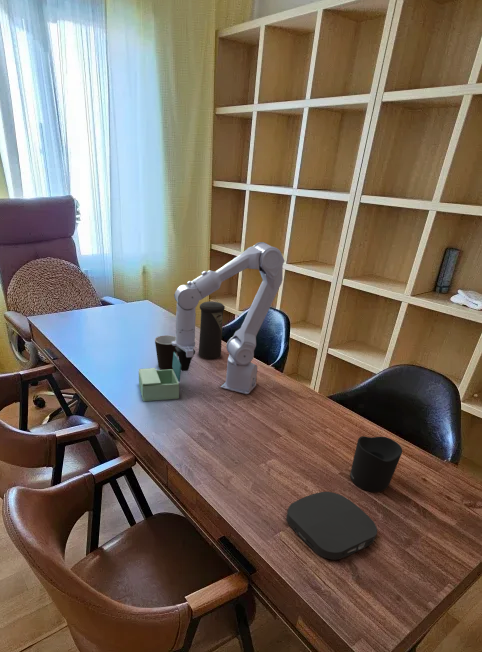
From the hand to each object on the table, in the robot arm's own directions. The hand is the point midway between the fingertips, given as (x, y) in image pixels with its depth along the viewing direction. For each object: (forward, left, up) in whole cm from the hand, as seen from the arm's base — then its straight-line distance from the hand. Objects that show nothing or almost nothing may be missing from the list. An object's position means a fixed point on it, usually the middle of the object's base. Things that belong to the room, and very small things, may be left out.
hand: (184, 370), depth 132 cm
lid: (+2, +2, +1) cm, 3 cm away
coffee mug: (+13, -15, -7) cm, 21 cm away
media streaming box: (-55, +39, -7) cm, 67 cm away
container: (+5, -30, -7) cm, 32 cm away
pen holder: (-60, +19, -7) cm, 63 cm away
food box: (+6, +5, -7) cm, 11 cm away
